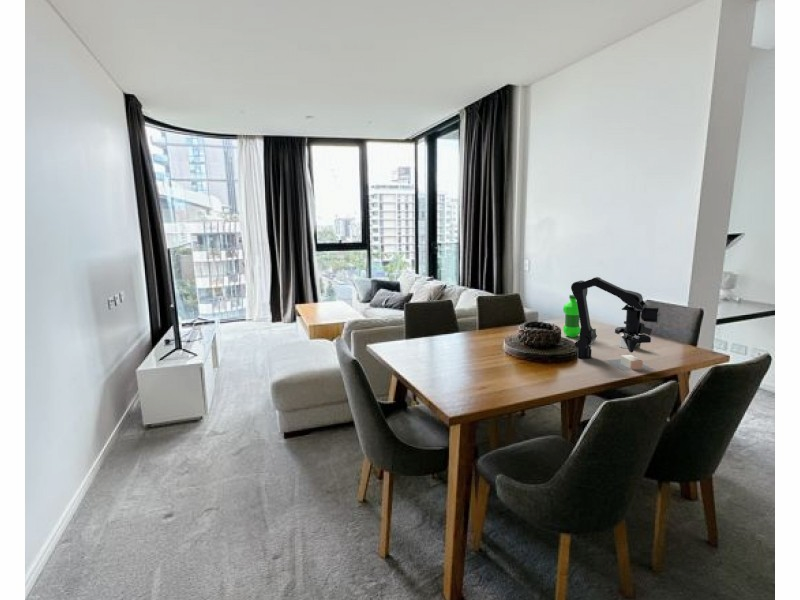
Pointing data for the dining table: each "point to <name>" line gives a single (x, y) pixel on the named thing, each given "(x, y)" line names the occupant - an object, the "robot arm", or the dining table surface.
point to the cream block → (631, 362)
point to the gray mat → (622, 367)
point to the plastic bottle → (571, 318)
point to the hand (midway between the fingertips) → (631, 352)
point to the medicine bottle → (623, 344)
